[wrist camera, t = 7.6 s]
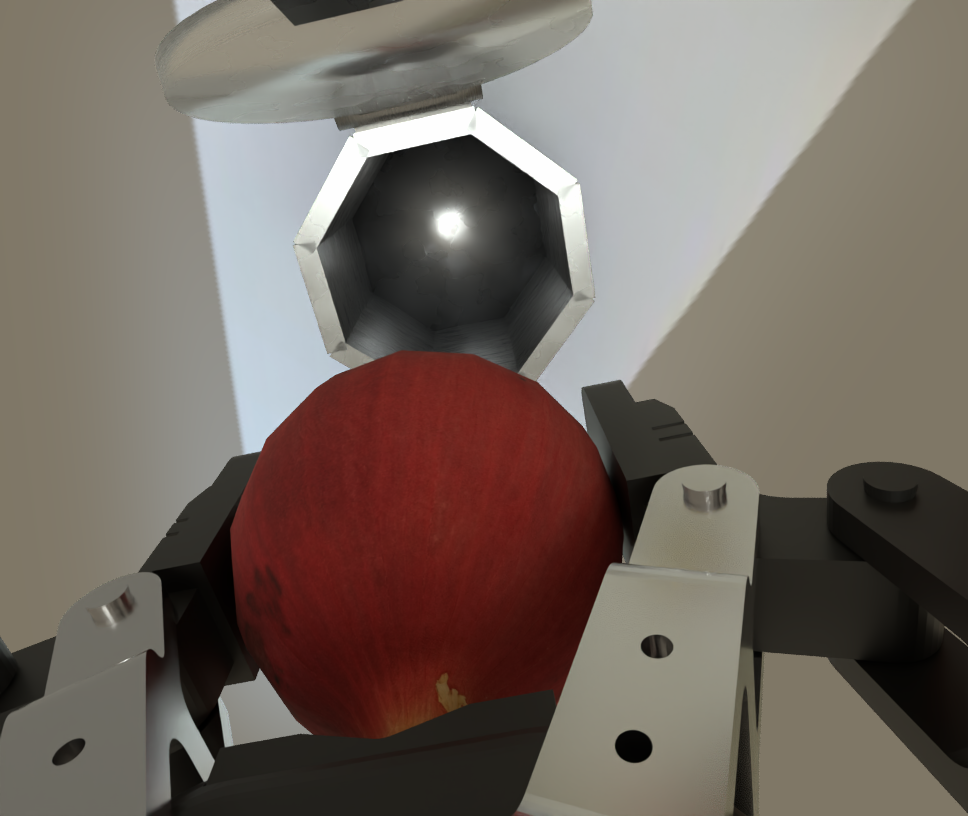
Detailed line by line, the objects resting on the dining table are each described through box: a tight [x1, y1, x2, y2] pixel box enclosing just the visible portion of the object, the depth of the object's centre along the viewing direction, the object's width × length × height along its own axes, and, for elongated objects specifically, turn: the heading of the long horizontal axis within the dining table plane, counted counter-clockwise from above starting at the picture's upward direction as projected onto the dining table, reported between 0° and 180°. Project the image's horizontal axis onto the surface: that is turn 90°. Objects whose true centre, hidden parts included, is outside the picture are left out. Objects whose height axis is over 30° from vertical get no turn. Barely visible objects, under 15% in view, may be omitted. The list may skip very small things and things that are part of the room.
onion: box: [230, 350, 624, 739], centre depth 10 cm, size 6×6×8 cm
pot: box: [293, 102, 595, 381], centre depth 35 cm, size 14×18×11 cm
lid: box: [155, 0, 593, 131], centre depth 18 cm, size 12×19×2 cm
